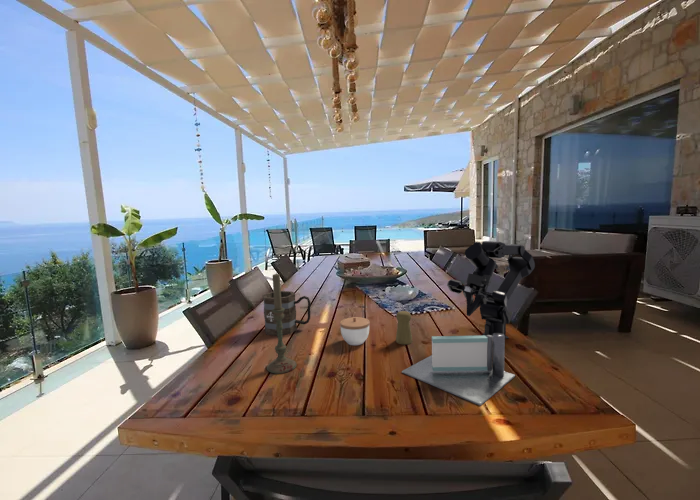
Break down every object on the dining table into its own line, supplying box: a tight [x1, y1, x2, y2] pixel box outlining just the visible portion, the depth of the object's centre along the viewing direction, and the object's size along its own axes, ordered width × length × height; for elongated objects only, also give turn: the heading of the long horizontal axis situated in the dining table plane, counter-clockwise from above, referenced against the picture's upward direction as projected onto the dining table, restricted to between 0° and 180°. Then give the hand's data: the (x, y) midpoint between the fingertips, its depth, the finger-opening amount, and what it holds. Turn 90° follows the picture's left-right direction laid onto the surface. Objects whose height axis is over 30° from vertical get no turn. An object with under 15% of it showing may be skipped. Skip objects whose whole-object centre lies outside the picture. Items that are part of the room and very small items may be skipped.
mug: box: [262, 290, 312, 337], centre depth 137 cm, size 20×14×15 cm
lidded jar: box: [339, 316, 370, 346], centre depth 121 cm, size 11×11×9 cm
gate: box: [431, 334, 493, 371], centre depth 95 cm, size 17×2×10 cm, turn 87°
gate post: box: [401, 333, 516, 406], centre depth 94 cm, size 24×20×12 cm
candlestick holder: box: [266, 272, 298, 375], centre depth 102 cm, size 9×9×30 cm
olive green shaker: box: [395, 310, 413, 345], centre depth 120 cm, size 6×6×11 cm
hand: (468, 315), depth 109 cm, fingers closed
